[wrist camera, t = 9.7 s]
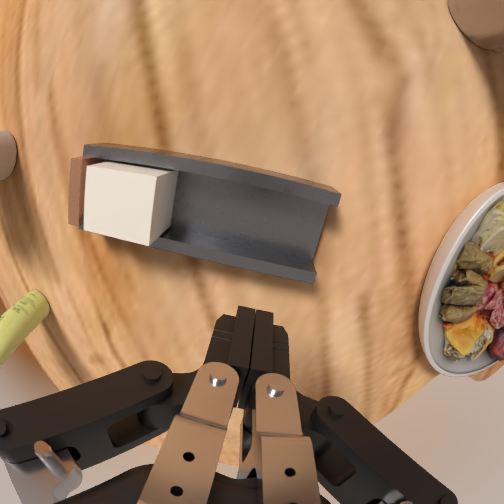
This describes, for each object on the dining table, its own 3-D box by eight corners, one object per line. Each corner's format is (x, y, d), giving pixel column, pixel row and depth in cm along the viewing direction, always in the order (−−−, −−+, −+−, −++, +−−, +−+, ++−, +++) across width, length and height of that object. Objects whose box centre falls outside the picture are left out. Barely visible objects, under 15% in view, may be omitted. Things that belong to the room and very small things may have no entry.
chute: (332, 187, 28) (347, 198, 22) (307, 266, 31) (315, 294, 25) (104, 142, 27) (72, 146, 21) (97, 218, 30) (68, 234, 25)
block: (179, 169, 27) (156, 176, 21) (170, 225, 29) (148, 246, 23) (118, 159, 26) (86, 165, 21) (113, 213, 29) (83, 229, 23)
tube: (38, 282, 35) (-43, 355, 16) (57, 308, 36) (-17, 389, 18) (25, 294, 36) (-47, 362, 18) (42, 319, 37) (-24, 392, 19)
